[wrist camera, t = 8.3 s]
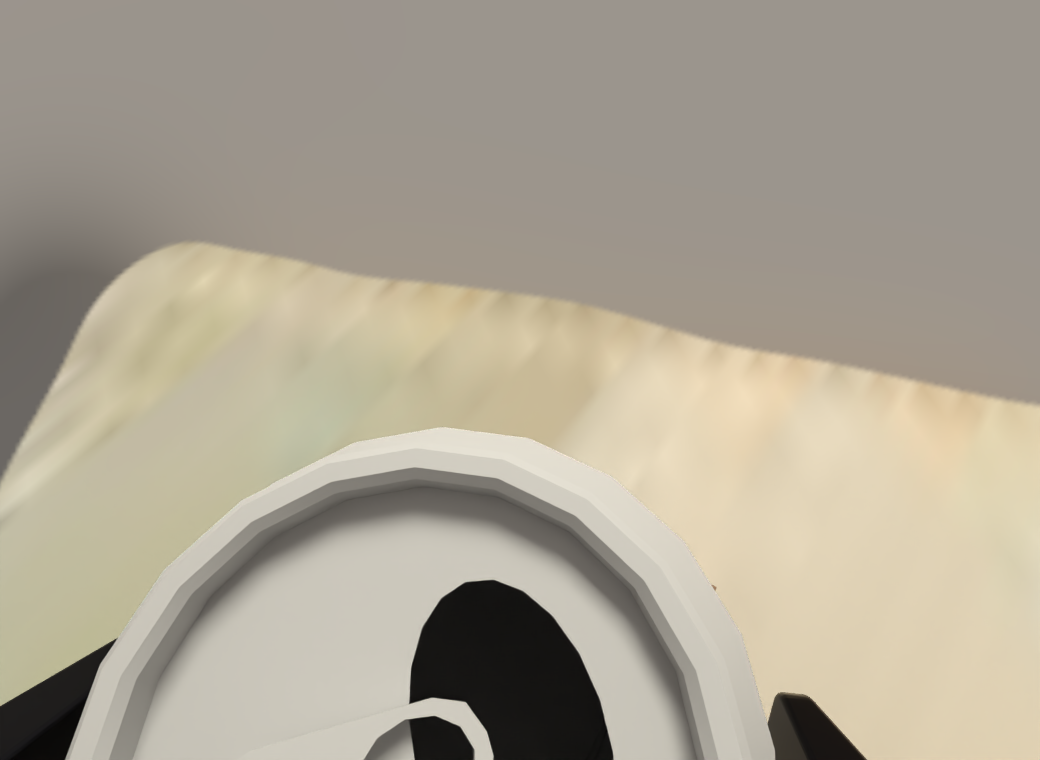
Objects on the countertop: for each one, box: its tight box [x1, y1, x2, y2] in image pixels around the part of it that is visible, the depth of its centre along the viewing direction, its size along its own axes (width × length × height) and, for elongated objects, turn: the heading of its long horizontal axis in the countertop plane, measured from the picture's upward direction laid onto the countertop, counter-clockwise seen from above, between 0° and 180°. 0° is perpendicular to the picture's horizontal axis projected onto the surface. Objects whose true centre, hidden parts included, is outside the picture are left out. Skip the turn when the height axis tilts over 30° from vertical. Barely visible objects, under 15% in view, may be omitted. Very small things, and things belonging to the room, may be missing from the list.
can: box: [65, 427, 775, 760], centre depth 11 cm, size 8×8×12 cm
